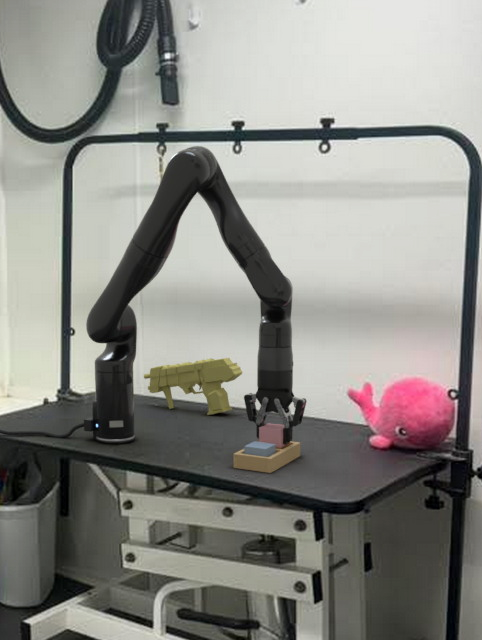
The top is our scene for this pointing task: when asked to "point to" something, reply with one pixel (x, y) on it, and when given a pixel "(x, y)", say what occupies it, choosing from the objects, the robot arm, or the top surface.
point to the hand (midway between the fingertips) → (274, 441)
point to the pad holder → (267, 459)
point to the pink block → (272, 434)
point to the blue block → (260, 449)
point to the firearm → (196, 380)
